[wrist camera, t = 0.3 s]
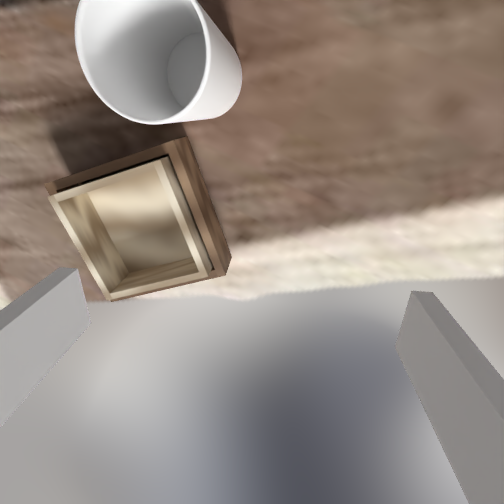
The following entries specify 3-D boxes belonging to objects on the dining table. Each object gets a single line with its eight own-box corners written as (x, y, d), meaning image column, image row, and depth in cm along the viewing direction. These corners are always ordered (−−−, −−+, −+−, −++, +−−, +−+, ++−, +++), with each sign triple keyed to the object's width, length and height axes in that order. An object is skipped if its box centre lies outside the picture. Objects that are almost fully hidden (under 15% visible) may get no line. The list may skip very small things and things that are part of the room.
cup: (152, 84, 33) (52, 64, 19) (193, 9, 30) (112, -83, 16) (212, 134, 35) (164, 151, 20) (258, 68, 32) (238, 33, 17)
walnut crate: (71, 175, 38) (43, 184, 34) (187, 136, 35) (173, 140, 31) (128, 282, 44) (111, 302, 40) (231, 257, 41) (225, 275, 37)
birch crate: (80, 184, 38) (47, 196, 32) (178, 152, 35) (160, 159, 30) (129, 276, 43) (107, 300, 37) (218, 254, 40) (208, 276, 35)
